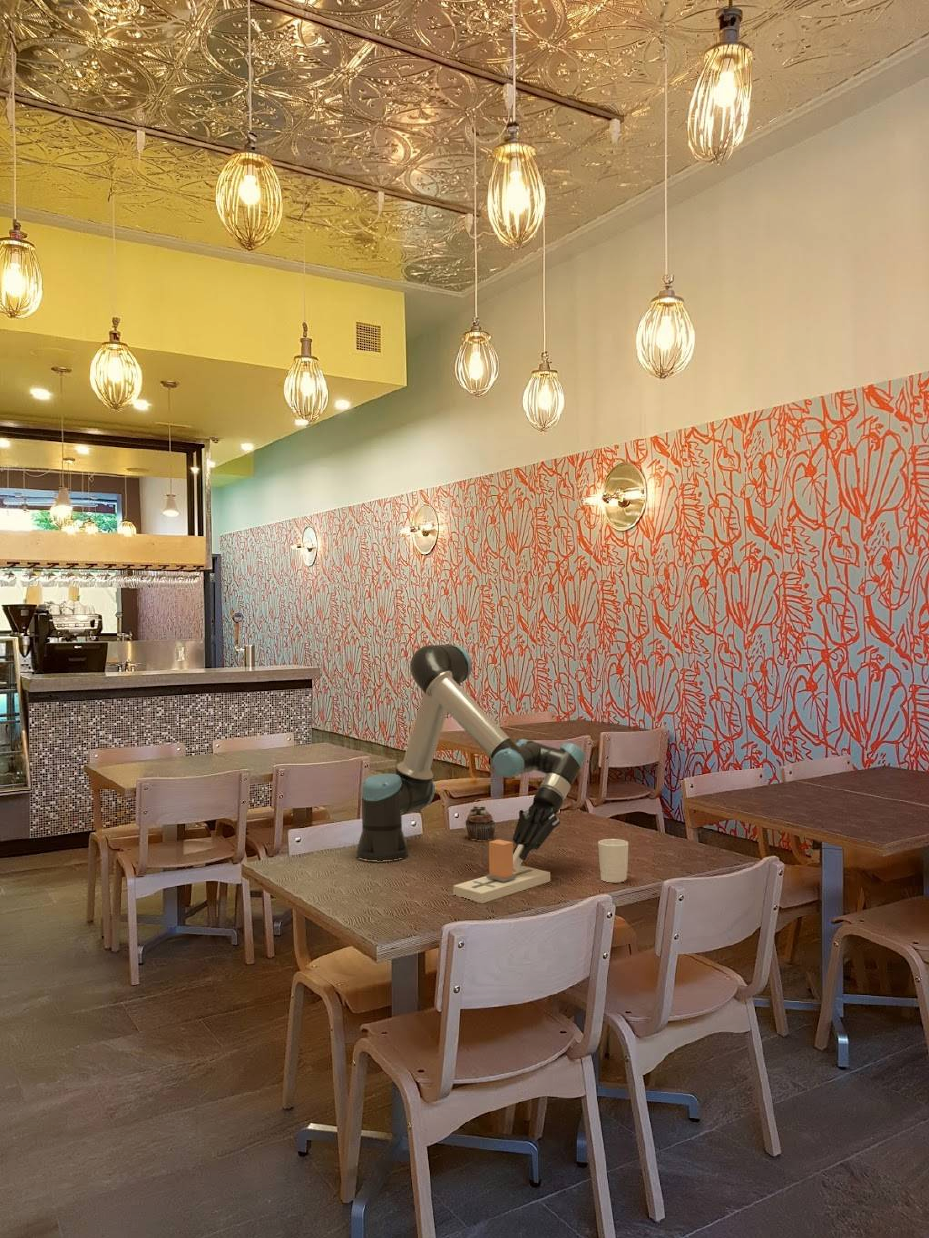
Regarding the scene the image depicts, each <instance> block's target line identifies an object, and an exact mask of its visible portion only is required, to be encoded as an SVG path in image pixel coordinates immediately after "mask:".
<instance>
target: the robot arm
mask: <svg viewBox="0 0 929 1238" xmlns="http://www.w3.org/2000/svg"><path fill="white" fill-rule="evenodd" d="M471 659H472V658H471V657H470V655H469V653H468V651H467V650H466V649H465V648H464V647H462V646H460V645H457V644H453V643H452V644H451V643H446V644H428V645H424V646H421V647H419V649H417V650H416V651H415V652H414V653H413V654H412V657H411V660H410V665H409V668H410V674H411V677H412V678H413V680H414V682H415V683H416V684H417V686H418V688H419V689H420V690H421V691H422V692H423V693H422V696H421V700H420V702H419V703H420V704H419V707H418V710H417V714H416V716H415V720H414V723H413V727H412V731H411V734H410V737H409V741H408V744H407V748H406V751H405V754H404V757H403V761H401V762H399V763H397V764H396V768H395V771H394V773H381V774H375V775H371V776H369V777H367V778H366V779H364V780H363V782H362V784H361V816H362V819H361V821H362V822H361V823H362V829H361V835H360V838H359V842H358V845H357V847H356V858H357V857H358V858H362V859H367V860H377V861H383V860H394V859H399V858H404V857H406V856H407V855H408V856H409V847H408V844H407V841H406V838H405V835H404V832H403V827H402V825H403V823H402V822H403V819H402V817H403V816H405V815H407V814H410V813H411V814H412V813H416V812H419V811H421V810H422V809H424V808H426V807H428V806H429V805H430V804H431V802H432V801H433V799H434V797H435V792H436V791H435V790H436V788H435V784H434V779H433V778H434V773H433V772H432V769H431V768H432V764H433V760H434V756H435V754H436V750H437V747H438V743H439V740H440V736H441V733H442V730H443V727H444V723H445V721H446V716H447V714H449V715H450V716H451V717H452V718H453V719H454V721H456V722H457V723H458V725H459V726H461V728H463V730H464V731H465V732H466V733H467V734H468V735H469V736H470V737H471V738H472V739H473V741H474V742H475V743H476V744H477V745H478V746H479V747H480V748H481V749H482V750H483V751H484V752H485V753H486V754H487V755H488V757H490V758H491V760H492V766H493V769H494V772H495V773H496V774H497V775H498V776H500V777H502V778H506V779H507V778H515V777H518V776H519V775H522V774H526V773H529V772H533V771H536V772H540V773H543V774H545V776H544V777H543V780H542V781H541V783H540V785H539V788H538V789H537V791H536V793H535V794H534V796H533V802H532V804H531V805H530V806H529V808H528V809H526V810H523V809H519V812H518V817H519V818H518V820H517V824H516V826H515V830H514V833H513V836H512V842H514V844H515V847H514V848H513V871H514V872H517V871H518V869H519V867H520V866H522V863H523V861H525V860H526V859H527V857H528V856H529V853H530V852H531V851H532V850H537V851H538V849H540V847H541V846H542V845H543V844H544V842H545V841H546V839H547V838H548V837H549V835H550V834H551V833H552V832H553V831H554V829H555V828H556V827H557V826H559V825H561V821H560V820H559V818H558V817H557V813H559V811H560V809H561V808H562V806H563V803H564V800H565V799H566V797H567V795H568V794H569V792H570V790H571V787H572V786H573V784H574V782H575V780H576V778H577V777H578V775H579V773H580V771H581V769H582V767H583V764H584V762H585V760H586V754H585V752H584V750H583V749H582V748H581V747H580V746H578V745H576V744H575V743H571V742H564V743H563V744H562V745H561V746H560V747H559V748H557V747H552V746H548V745H546V744H543V743H539V742H536V741H534V740H528V739H524V738H521V739H518V741H517V742H516V743H515V742H514V741H513V740H512V739H511V738H510V737H509V736H508V734H506V732H504V730H503V729H501V727H500V726H499V725H498V724H497V723H496V722H495V721H494V720H493V719H492V718H491V717H490V716H489V715H488V714H487V712H485V711H484V710H483V708H481V706H480V705H479V704H478V703H477V702H476V701H475V700H474V699H473V698H472V697H471V696H470V695H469V694H468V693H467V692H466V691H465V689H464V688H462V687H461V684H462V683H463V682H464V681H466V680H467V679H468V678H469V677H470V675H471V673H472V669H473V668H472V667H473V666H472V665H473V664H472V660H471ZM408 856H407V857H408ZM407 857H406V858H407ZM358 858H357V859H358ZM404 859H405V858H404Z"/></svg>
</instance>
